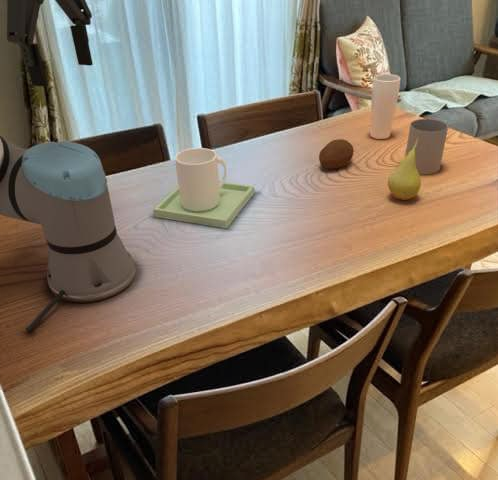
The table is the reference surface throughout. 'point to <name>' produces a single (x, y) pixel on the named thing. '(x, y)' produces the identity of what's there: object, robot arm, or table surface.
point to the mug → (199, 178)
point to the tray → (220, 216)
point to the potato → (336, 154)
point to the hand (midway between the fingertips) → (64, 74)
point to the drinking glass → (383, 104)
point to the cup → (427, 144)
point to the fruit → (405, 178)
